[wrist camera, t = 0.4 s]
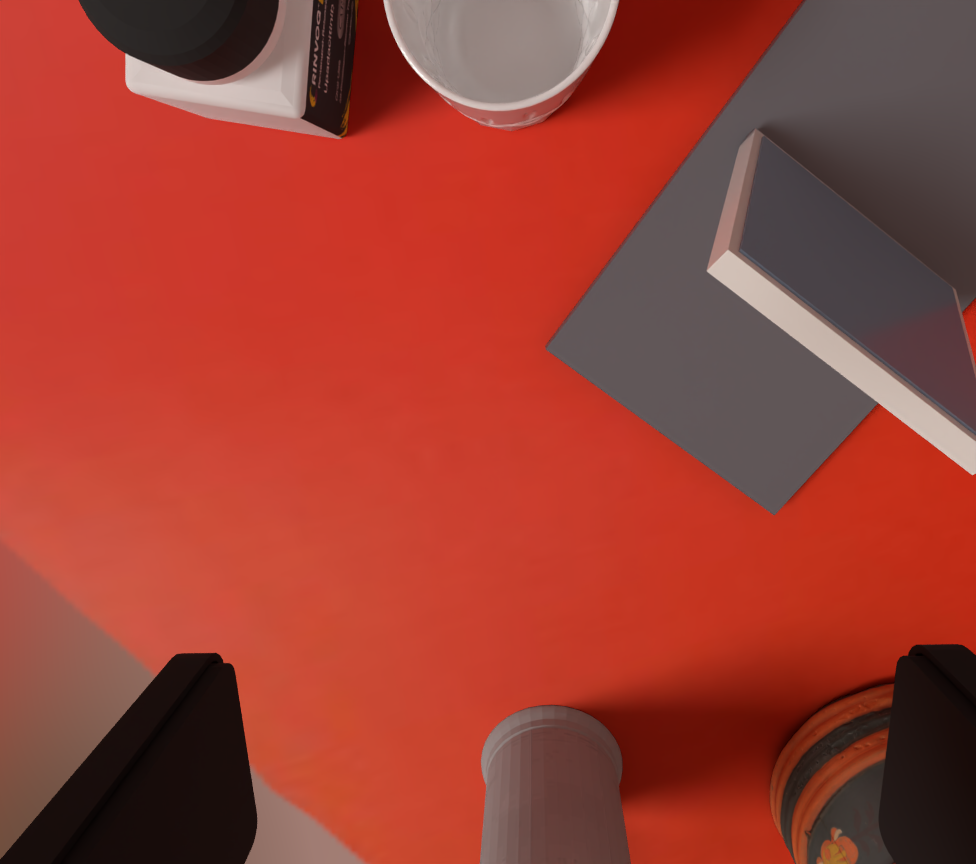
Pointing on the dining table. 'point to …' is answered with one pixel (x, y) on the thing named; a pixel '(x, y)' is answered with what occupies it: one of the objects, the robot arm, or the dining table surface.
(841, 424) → the base
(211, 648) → the dining table surface
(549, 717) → the glass holder
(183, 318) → the dining table surface
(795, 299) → the tile
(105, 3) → the medicine bottle
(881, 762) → the beer stein
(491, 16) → the white cup
